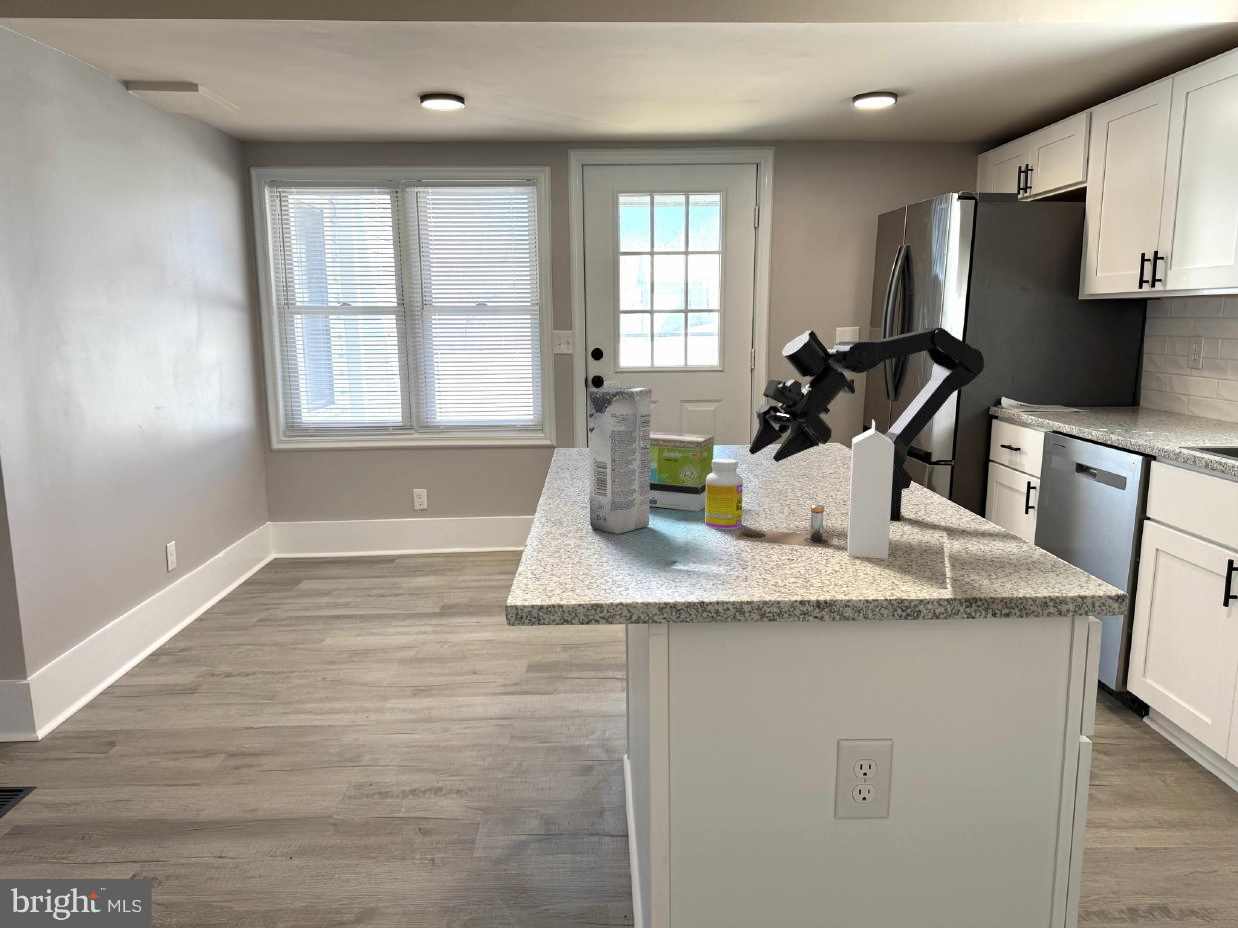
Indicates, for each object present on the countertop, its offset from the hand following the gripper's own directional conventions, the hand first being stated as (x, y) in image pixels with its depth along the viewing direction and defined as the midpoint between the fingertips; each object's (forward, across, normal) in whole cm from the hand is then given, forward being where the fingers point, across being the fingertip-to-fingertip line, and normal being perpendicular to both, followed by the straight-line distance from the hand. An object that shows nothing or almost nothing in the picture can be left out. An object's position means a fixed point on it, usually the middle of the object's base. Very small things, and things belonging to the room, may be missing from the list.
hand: (762, 456), depth 146 cm
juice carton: (+27, -7, -8) cm, 29 cm away
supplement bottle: (+15, 0, +4) cm, 15 cm away
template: (+11, +12, +8) cm, 18 cm away
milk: (+5, +24, +14) cm, 28 cm away
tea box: (+15, -23, +4) cm, 28 cm away
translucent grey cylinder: (+7, +15, +10) cm, 20 cm away
